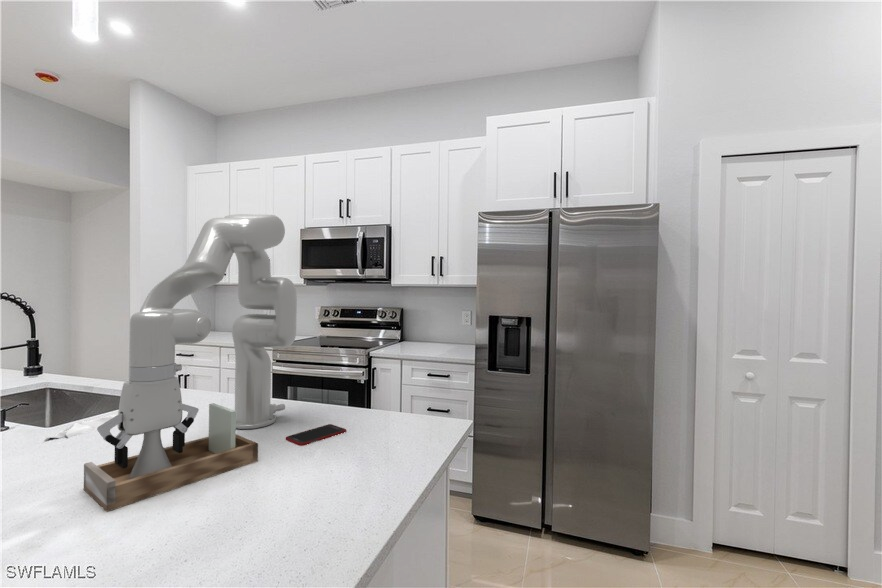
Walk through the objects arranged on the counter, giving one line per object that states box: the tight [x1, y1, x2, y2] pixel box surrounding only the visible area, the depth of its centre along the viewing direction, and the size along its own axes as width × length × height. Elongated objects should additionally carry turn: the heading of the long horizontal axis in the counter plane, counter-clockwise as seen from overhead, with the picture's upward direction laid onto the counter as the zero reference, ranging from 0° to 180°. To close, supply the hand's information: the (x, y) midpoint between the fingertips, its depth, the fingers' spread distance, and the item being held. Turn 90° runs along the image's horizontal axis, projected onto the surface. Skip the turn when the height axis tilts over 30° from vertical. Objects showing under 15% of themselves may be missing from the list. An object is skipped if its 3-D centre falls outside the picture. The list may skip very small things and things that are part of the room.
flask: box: [128, 429, 172, 480], centre depth 85 cm, size 7×7×10 cm
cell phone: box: [285, 423, 347, 447], centre depth 113 cm, size 8×15×1 cm, turn 142°
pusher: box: [208, 402, 237, 454], centre depth 96 cm, size 1×10×11 cm, turn 54°
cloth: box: [42, 414, 118, 444], centre depth 118 cm, size 26×14×2 cm, turn 156°
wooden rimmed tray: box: [83, 433, 259, 512], centre depth 88 cm, size 28×13×5 cm, turn 144°
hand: (151, 458), depth 84 cm, fingers open, 9 cm apart
